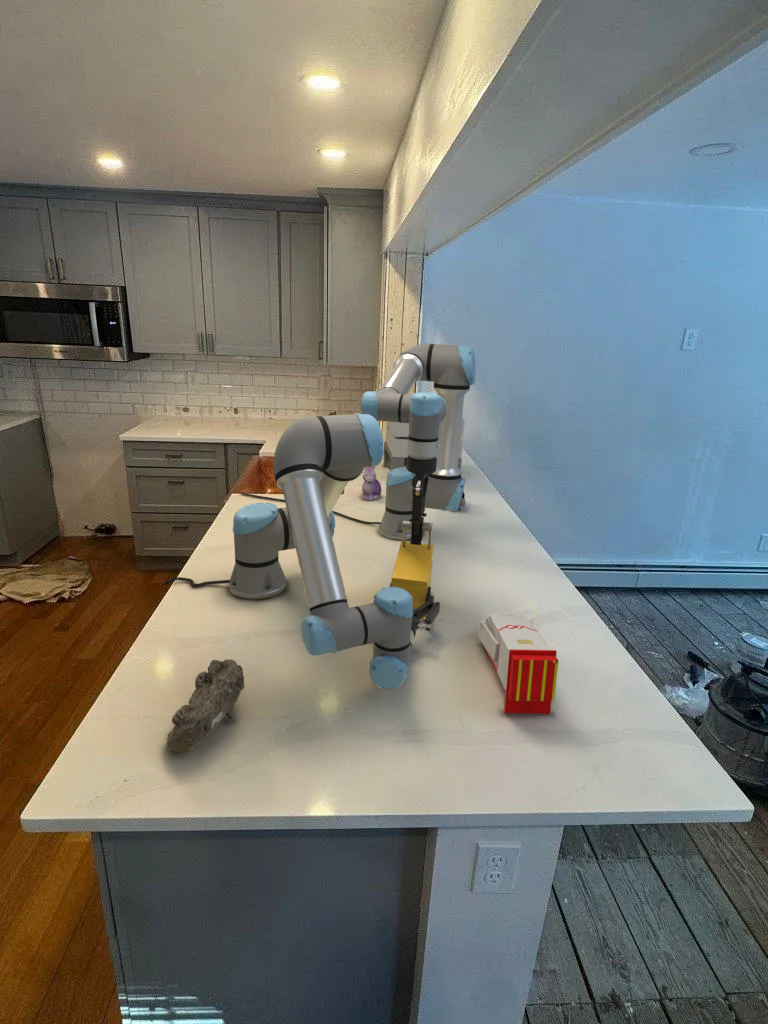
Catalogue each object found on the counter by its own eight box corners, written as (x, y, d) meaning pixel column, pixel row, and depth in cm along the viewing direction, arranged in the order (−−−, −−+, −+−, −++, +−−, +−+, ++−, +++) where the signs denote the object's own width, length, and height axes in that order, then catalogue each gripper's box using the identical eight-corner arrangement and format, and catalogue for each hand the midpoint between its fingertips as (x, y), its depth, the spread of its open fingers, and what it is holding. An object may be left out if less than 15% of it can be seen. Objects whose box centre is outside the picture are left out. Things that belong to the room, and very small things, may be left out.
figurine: (366, 502, 230) (367, 466, 225) (355, 494, 239) (356, 460, 234) (386, 499, 235) (388, 464, 229) (375, 492, 243) (377, 458, 238)
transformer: (382, 463, 289) (386, 382, 275) (445, 464, 293) (451, 384, 279) (390, 482, 257) (394, 392, 243) (460, 483, 261) (468, 394, 247)
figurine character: (465, 515, 224) (460, 499, 237) (467, 498, 221) (462, 483, 234) (448, 515, 224) (444, 499, 237) (450, 498, 220) (445, 482, 234)
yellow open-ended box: (398, 590, 160) (400, 556, 156) (430, 594, 159) (432, 560, 155) (389, 618, 145) (391, 581, 142) (424, 622, 144) (427, 585, 140)
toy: (524, 600, 137) (567, 656, 108) (520, 651, 140) (560, 720, 111) (474, 599, 137) (504, 655, 107) (471, 650, 140) (498, 719, 110)
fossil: (192, 660, 117) (244, 628, 112) (224, 691, 120) (276, 661, 115) (142, 746, 98) (202, 712, 93) (182, 779, 101) (242, 748, 96)
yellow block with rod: (400, 544, 155) (401, 516, 151) (433, 548, 154) (435, 520, 149) (391, 581, 142) (392, 551, 137) (427, 585, 141) (429, 555, 136)
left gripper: (349, 643, 128) (368, 597, 149) (445, 656, 125) (451, 607, 146) (350, 614, 126) (369, 571, 147) (448, 627, 123) (453, 581, 144)
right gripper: (434, 465, 135) (427, 555, 143) (439, 449, 149) (433, 532, 157) (403, 462, 136) (398, 552, 144) (411, 447, 150) (406, 530, 158)
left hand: (410, 589), depth 147 cm, fingers closed on yellow open-ended box, 9 cm apart
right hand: (416, 541), depth 150 cm, fingers closed on yellow block with rod, 2 cm apart
